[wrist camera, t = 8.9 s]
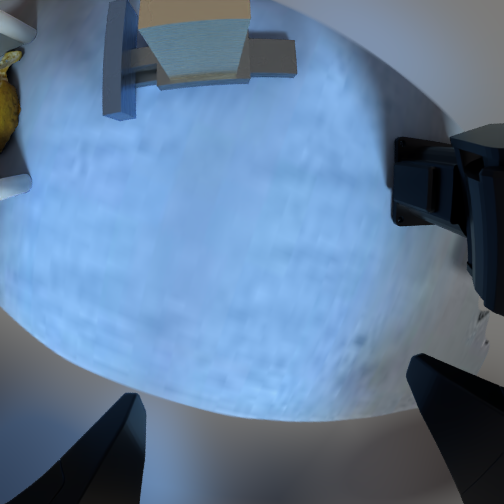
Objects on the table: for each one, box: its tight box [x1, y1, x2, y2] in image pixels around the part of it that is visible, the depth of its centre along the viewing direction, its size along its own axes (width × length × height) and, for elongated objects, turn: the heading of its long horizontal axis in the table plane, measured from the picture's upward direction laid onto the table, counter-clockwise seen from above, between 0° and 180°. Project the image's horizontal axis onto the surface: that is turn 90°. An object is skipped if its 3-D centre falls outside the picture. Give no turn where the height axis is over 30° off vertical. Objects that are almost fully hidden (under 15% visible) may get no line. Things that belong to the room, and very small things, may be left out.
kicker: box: [103, 0, 251, 121], centre depth 10 cm, size 8×7×8 cm
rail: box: [136, 39, 297, 88], centre depth 15 cm, size 10×2×1 cm, turn 93°
